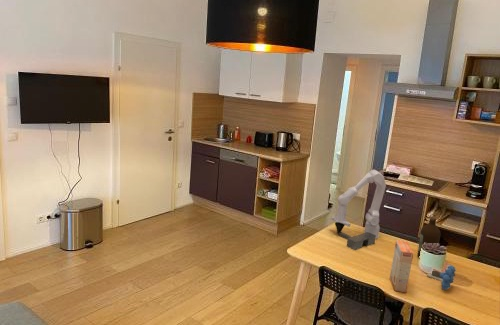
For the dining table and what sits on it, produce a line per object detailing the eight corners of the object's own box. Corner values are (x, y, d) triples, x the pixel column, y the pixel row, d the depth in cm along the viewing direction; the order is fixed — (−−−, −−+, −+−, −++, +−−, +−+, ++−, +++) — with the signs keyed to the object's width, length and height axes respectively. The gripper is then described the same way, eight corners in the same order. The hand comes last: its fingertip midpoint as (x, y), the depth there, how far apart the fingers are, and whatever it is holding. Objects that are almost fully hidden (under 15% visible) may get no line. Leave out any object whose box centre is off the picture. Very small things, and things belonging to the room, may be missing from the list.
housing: (366, 239, 243) (367, 232, 242) (374, 243, 238) (375, 235, 237) (346, 246, 231) (347, 238, 229) (354, 250, 226) (355, 241, 225)
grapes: (441, 281, 196) (445, 259, 194) (455, 286, 191) (460, 264, 189) (432, 288, 188) (437, 266, 186) (447, 294, 183) (451, 271, 181)
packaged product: (434, 257, 213) (454, 263, 208) (433, 265, 214) (452, 271, 209) (427, 269, 199) (448, 275, 193) (426, 277, 200) (446, 284, 194)
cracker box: (407, 293, 182) (414, 252, 177) (393, 291, 183) (400, 250, 178) (401, 279, 195) (408, 241, 191) (389, 277, 196) (395, 239, 192)
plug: (341, 234, 248) (342, 229, 247) (360, 243, 237) (361, 238, 236) (337, 235, 246) (338, 230, 245) (356, 244, 234) (357, 239, 234)
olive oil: (434, 256, 226) (442, 216, 220) (436, 263, 216) (444, 222, 211) (415, 252, 229) (422, 213, 224) (416, 259, 219) (423, 218, 214)
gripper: (328, 211, 248) (326, 230, 251) (346, 218, 237) (343, 238, 239) (335, 209, 252) (333, 228, 255) (353, 216, 241) (350, 236, 244)
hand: (338, 233), depth 247 cm, fingers closed
